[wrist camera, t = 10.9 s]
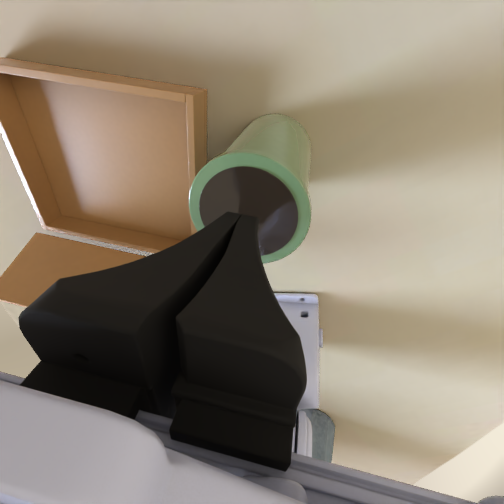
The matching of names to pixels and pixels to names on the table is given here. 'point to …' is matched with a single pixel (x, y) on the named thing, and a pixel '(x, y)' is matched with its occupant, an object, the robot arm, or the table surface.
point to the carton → (104, 151)
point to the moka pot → (321, 434)
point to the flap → (54, 266)
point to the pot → (260, 184)
